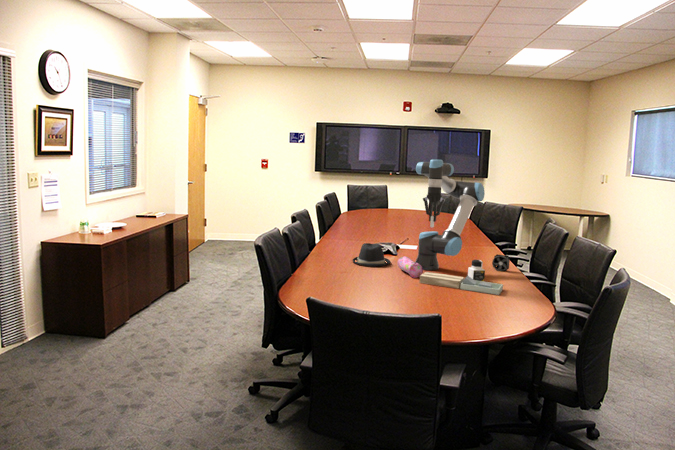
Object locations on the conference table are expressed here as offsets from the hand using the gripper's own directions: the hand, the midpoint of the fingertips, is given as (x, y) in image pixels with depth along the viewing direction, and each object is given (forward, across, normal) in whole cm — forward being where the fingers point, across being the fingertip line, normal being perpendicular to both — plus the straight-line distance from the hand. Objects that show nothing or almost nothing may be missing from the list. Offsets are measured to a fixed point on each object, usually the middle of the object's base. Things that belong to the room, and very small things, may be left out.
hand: (432, 227), depth 298 cm
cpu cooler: (+30, +34, +44) cm, 63 cm away
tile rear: (+25, +27, -12) cm, 39 cm away
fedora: (+30, -43, +15) cm, 54 cm away
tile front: (+26, +35, -12) cm, 45 cm away
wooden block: (+29, +11, -12) cm, 34 cm away
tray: (+29, +33, -12) cm, 46 cm away
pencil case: (+30, -12, 0) cm, 32 cm away
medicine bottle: (+30, +26, +7) cm, 40 cm away
